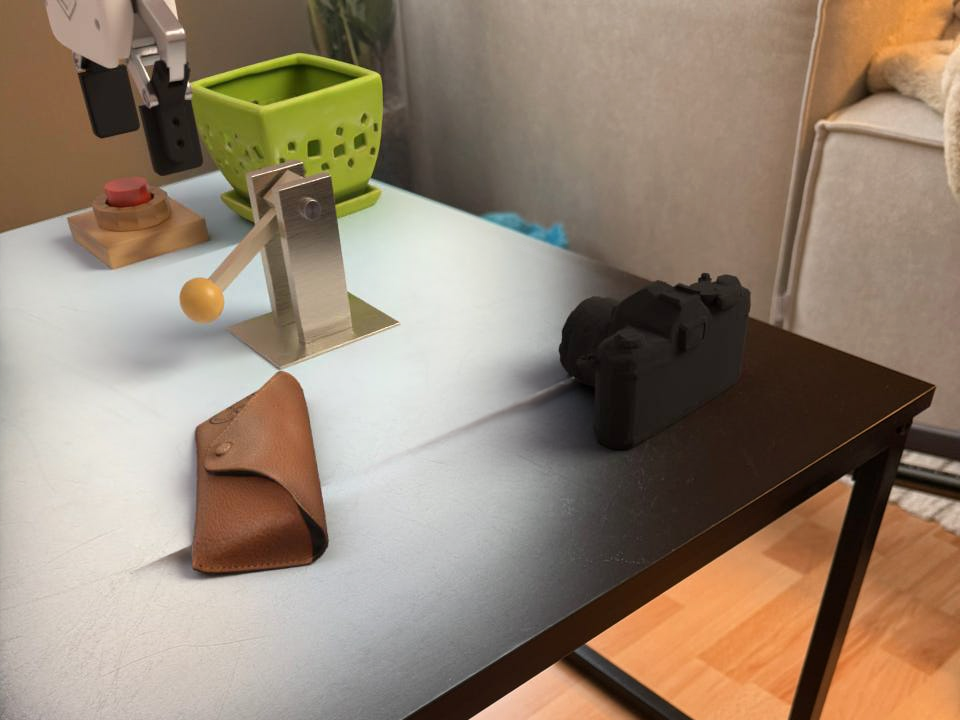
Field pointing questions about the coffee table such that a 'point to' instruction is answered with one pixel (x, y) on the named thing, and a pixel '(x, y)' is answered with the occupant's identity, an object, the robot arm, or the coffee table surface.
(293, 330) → the switch bracket
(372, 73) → the flower pot
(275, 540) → the sunglasses case
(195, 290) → the switch lever
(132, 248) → the button block
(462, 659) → the coffee table surface
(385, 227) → the coffee table surface
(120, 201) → the button
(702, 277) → the film camera
